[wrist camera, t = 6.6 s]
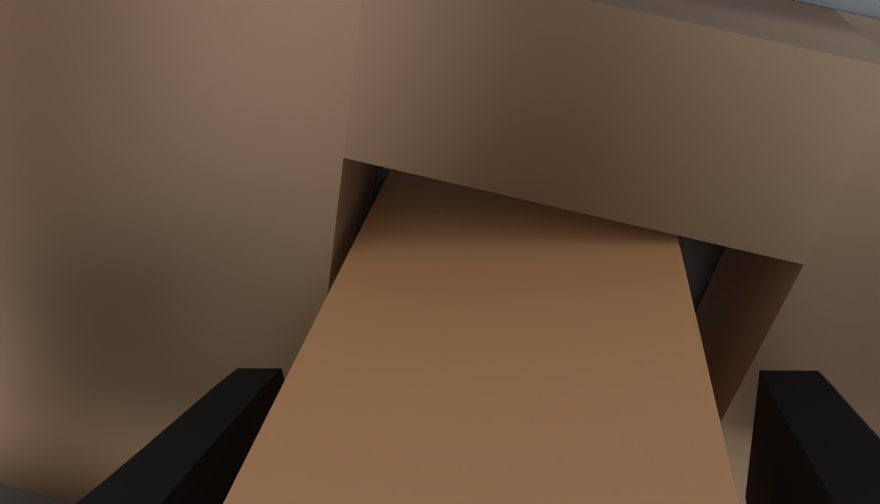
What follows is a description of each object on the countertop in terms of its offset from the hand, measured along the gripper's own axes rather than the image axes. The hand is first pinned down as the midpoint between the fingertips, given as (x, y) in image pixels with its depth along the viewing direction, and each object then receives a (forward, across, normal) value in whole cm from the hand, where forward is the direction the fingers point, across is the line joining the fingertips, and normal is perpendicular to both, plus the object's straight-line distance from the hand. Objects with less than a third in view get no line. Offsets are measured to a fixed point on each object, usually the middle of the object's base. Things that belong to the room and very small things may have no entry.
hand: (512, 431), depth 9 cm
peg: (+3, 0, 0) cm, 3 cm away
